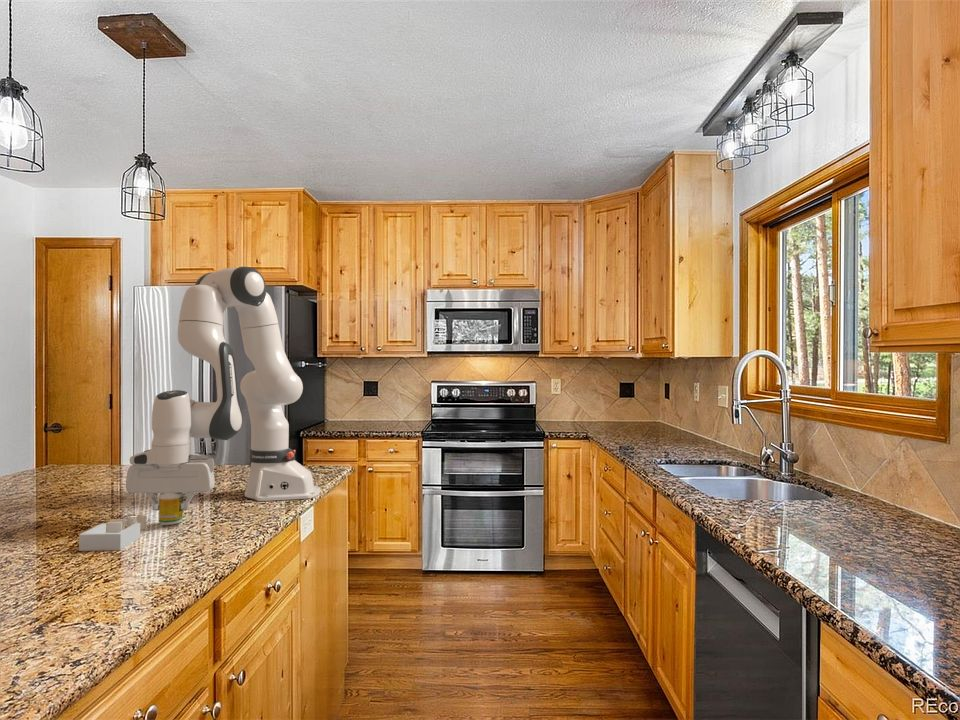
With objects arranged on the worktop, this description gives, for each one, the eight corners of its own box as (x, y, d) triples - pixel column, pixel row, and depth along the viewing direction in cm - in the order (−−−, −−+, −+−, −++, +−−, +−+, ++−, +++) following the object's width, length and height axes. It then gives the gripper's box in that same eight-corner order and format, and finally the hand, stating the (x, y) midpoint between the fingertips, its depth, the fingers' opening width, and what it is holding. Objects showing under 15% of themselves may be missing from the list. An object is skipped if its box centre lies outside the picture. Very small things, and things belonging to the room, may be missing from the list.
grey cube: (111, 532, 134) (111, 519, 134) (125, 531, 135) (125, 518, 135) (106, 535, 132) (106, 523, 132) (120, 534, 132) (121, 522, 132)
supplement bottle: (159, 520, 143) (159, 483, 143) (183, 518, 145) (183, 481, 145) (158, 526, 138) (158, 487, 138) (182, 523, 140) (183, 485, 140)
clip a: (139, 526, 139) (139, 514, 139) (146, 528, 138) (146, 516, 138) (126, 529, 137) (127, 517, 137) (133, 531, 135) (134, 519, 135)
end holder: (140, 537, 130) (140, 522, 130) (120, 550, 122) (120, 534, 122) (101, 538, 130) (101, 523, 130) (78, 550, 121) (79, 534, 121)
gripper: (218, 452, 146) (218, 505, 146) (135, 453, 143) (135, 507, 143) (209, 456, 139) (209, 512, 139) (122, 457, 137) (122, 514, 137)
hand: (171, 509), depth 141 cm, fingers closed on supplement bottle, 5 cm apart
